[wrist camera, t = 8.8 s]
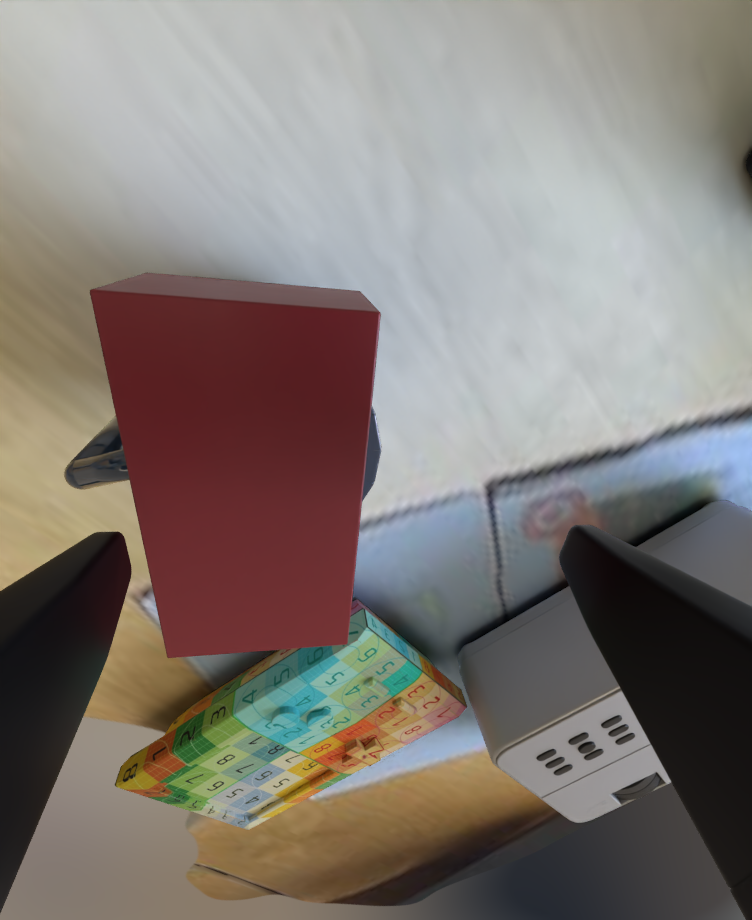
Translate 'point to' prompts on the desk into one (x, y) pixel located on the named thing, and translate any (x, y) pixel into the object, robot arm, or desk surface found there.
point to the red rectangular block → (243, 452)
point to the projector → (588, 681)
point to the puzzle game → (295, 726)
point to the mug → (108, 466)
